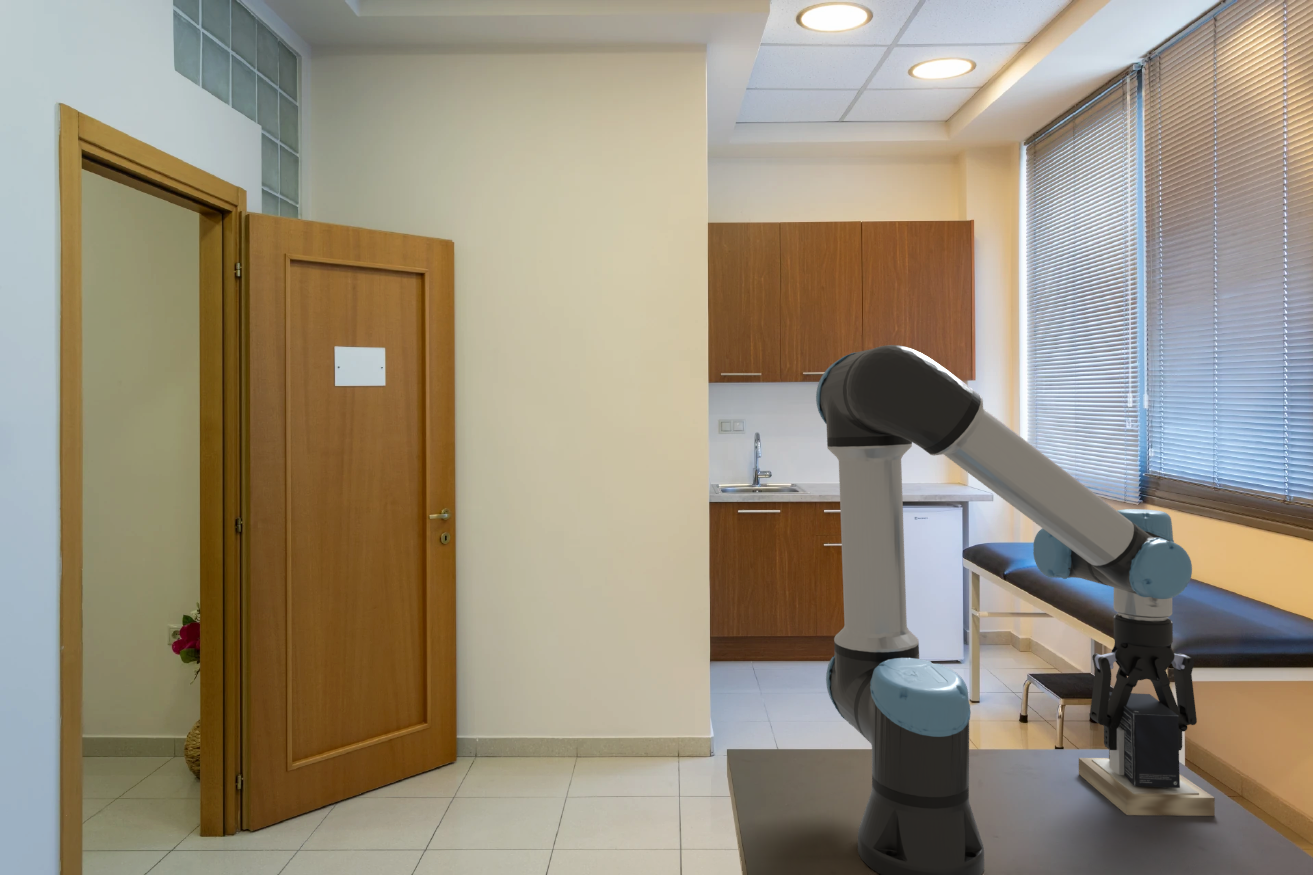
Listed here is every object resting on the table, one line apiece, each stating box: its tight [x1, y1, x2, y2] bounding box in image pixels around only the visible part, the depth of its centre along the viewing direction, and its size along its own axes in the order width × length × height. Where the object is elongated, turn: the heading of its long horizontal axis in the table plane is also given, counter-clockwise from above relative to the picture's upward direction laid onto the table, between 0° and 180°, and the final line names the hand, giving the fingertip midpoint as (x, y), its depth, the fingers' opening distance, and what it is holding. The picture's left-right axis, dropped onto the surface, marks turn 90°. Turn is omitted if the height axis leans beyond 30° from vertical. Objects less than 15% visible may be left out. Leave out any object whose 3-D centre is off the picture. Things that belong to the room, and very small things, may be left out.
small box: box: [1108, 691, 1180, 788], centre depth 123 cm, size 11×6×10 cm, turn 170°
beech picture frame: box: [1078, 757, 1216, 817], centre depth 123 cm, size 12×14×3 cm
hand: (1142, 770), depth 123 cm, fingers closed on small box, 7 cm apart
